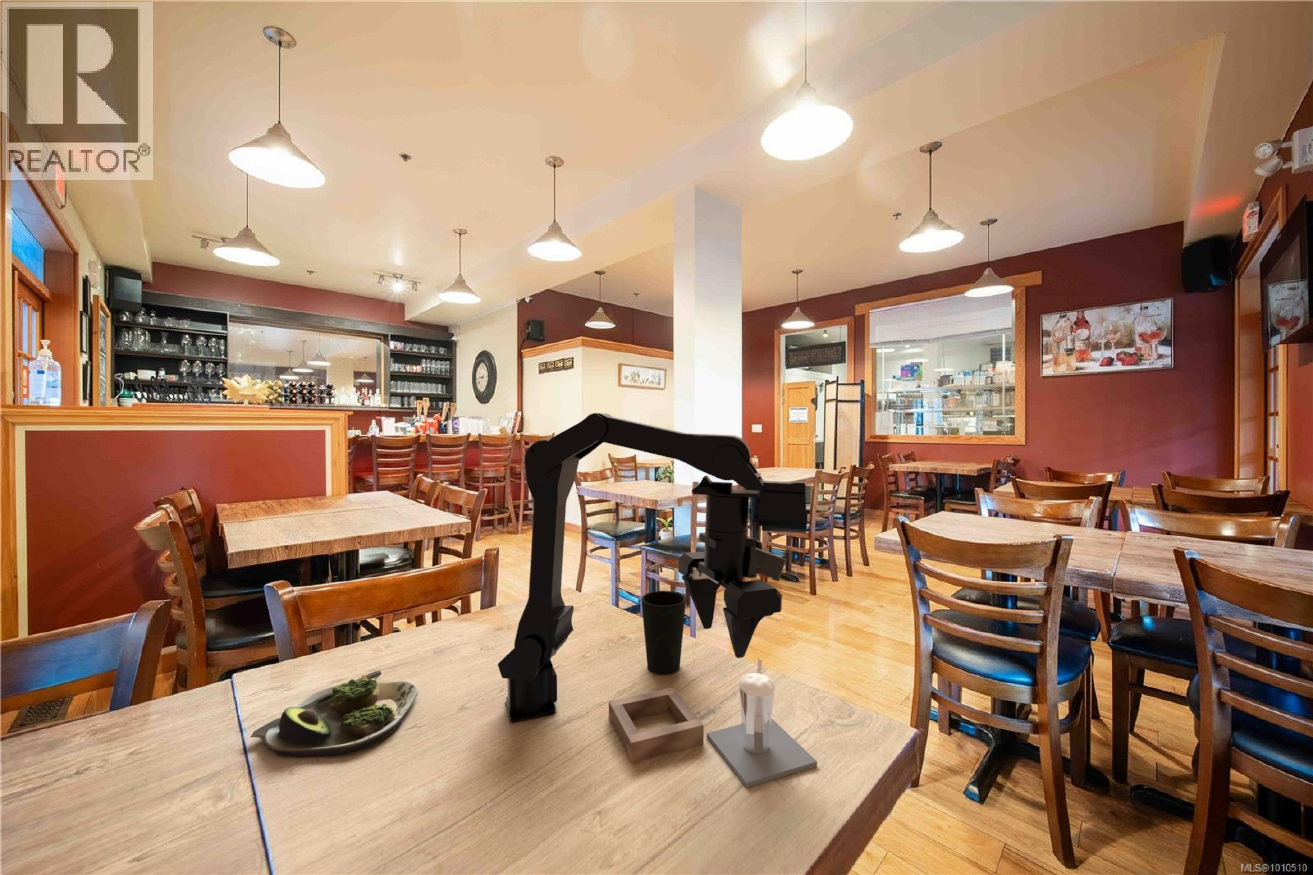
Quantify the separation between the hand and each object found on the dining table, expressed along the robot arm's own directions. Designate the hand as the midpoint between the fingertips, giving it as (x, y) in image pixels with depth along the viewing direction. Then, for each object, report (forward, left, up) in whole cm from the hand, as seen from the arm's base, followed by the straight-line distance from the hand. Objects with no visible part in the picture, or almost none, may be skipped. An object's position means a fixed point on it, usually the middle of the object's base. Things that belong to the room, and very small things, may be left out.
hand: (722, 642), depth 68 cm
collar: (-9, +3, -12) cm, 15 cm away
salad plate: (-49, +21, -13) cm, 55 cm away
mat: (+2, -6, -12) cm, 14 cm away
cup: (-1, +19, -13) cm, 23 cm away
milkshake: (+2, -5, -12) cm, 13 cm away
